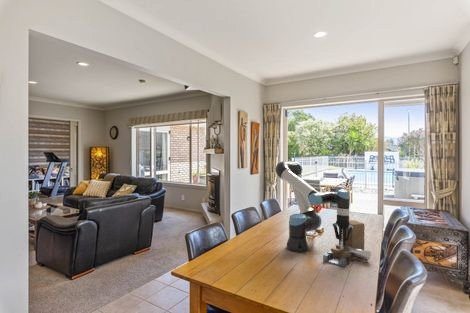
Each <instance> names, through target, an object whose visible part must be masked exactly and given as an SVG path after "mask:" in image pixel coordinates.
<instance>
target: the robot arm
mask: <svg viewBox="0 0 470 313" xmlns="http://www.w3.org/2000/svg"><path fill="white" fill-rule="evenodd" d="M275 173H276V175H277V177H278V178H280V180H283V181H286V182H287V183H288V184H290V185H291V189H292V191H293V194H294V195H293V196H294V197H295V200H296V202H297V205H298V206H297V207H298V209H299V213H294V214H290V216H289V219H288V239H287V242H286V249H287V250H288V251H290V252H293V253H294V252H295V253H305V252H308V251H309V248H310V246H309V242H308V240H307V232H312V231H317V230H318V229H319V228H321V226H322V217H321V215H320V214H319V213H316V211H315V209H314V208H312V206H321V205H325V204H327V205H328V204H335V205H336V221H335V222H334V223H332V227H333V229H334V233H335V234H334V235H335V238H336V239H337V240H338V245H340V250H344V246H345V245H346V241H348V240H349V238H350V234H351V231H352V229H353V228H354V227H353V226H351V225H350V223H349V221H350V199H351V195H350V191H348V190H345V189H338V190H337V191H336V192H335V191H329V190H323V191H321V192H319V191H317V190H316V189H315V188H314V187H313V186H311V185H310V184H308V183H307V182H306V181H305V180H303V179H302V173H303V167H302V165H301V163H300V162H298V161H296V160H291V161H289V160H288V161H280V162H278V163H277V164H276V166H275ZM348 226H349V230H348V234H347V237H346V230H347V228H348ZM342 229H343V240H342Z"/></svg>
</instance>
